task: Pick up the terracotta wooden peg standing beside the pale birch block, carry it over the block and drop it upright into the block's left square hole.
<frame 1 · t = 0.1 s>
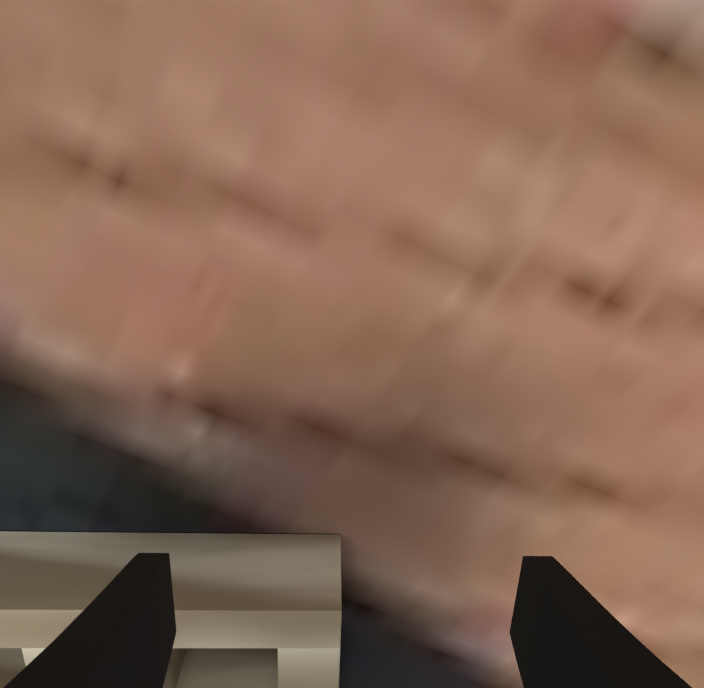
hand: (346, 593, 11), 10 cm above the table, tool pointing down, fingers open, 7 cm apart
hole block: (132, 607, 24), on the table
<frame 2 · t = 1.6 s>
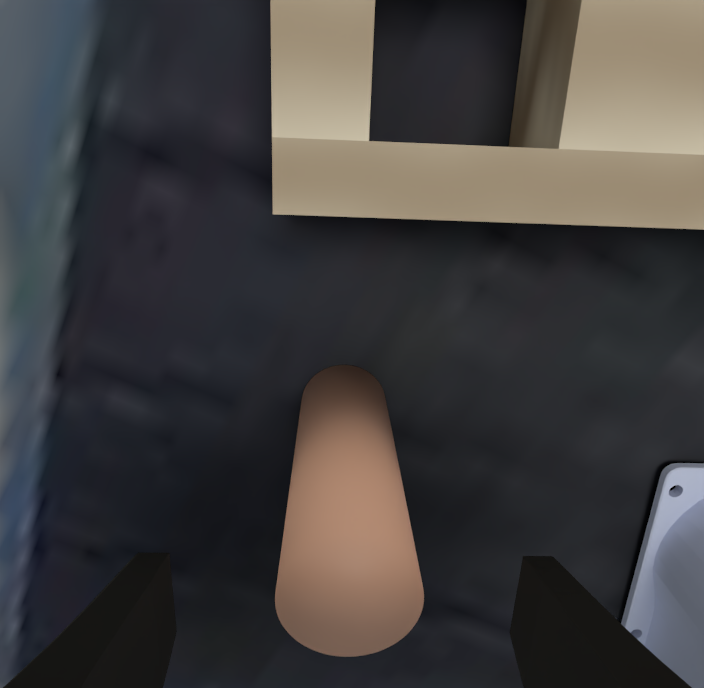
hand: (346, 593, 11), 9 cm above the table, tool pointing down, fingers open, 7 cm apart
hole block: (594, 70, 16), on the table
peg: (343, 403, 19), on the table
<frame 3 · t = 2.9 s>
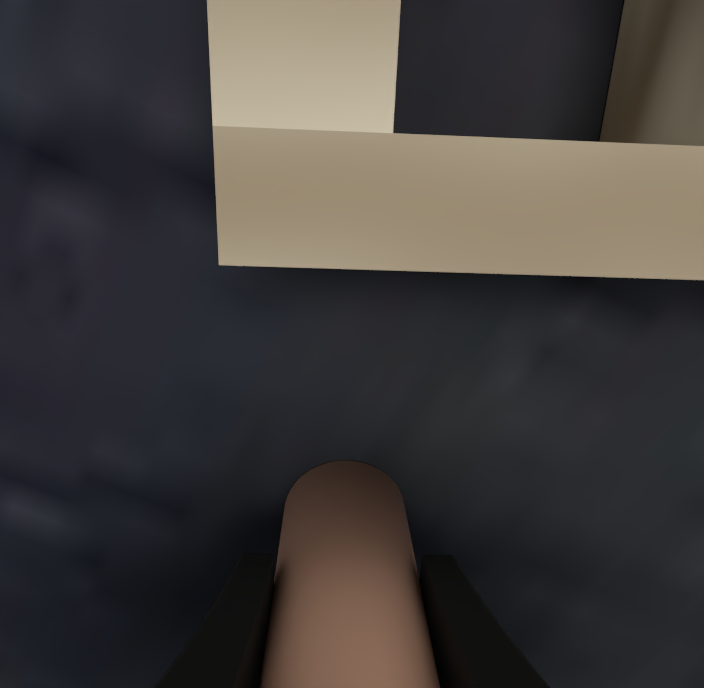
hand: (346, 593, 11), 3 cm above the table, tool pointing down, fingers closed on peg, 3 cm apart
peg: (344, 512, 14), on the table, touching gripper
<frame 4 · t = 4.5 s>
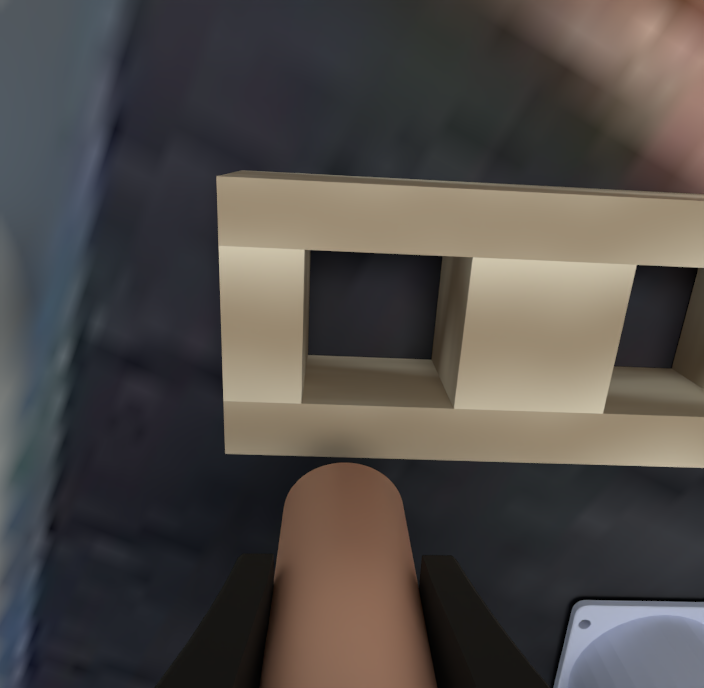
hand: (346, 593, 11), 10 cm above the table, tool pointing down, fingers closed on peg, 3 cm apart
hole block: (501, 302, 19), on the table
peg: (343, 514, 14), point 7 cm above the table, touching gripper
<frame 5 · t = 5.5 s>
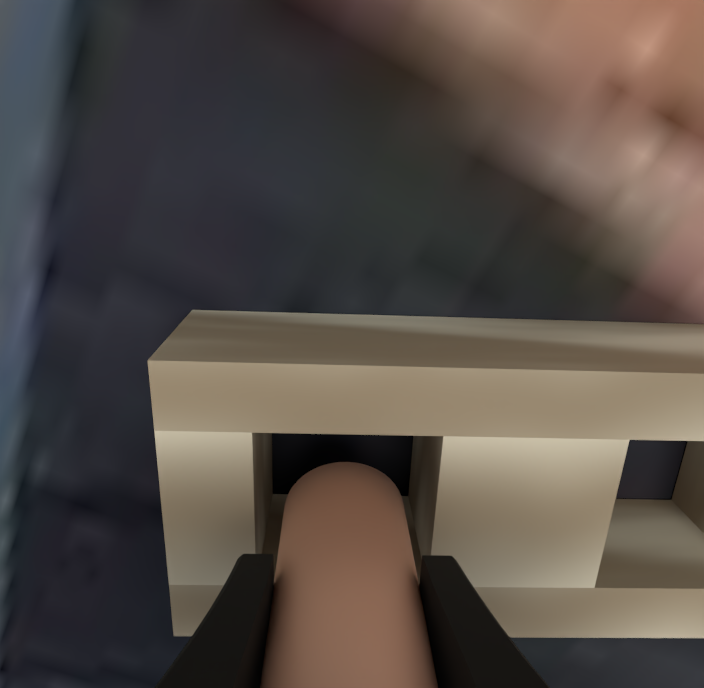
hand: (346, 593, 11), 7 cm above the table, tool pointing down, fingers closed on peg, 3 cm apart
hole block: (483, 437, 18), on the table
peg: (344, 513, 14), point 4 cm above the table, touching gripper
when the fingers open (5 cm above the table, at t = 6.2 s): peg drops 2 cm, resting in hole block.
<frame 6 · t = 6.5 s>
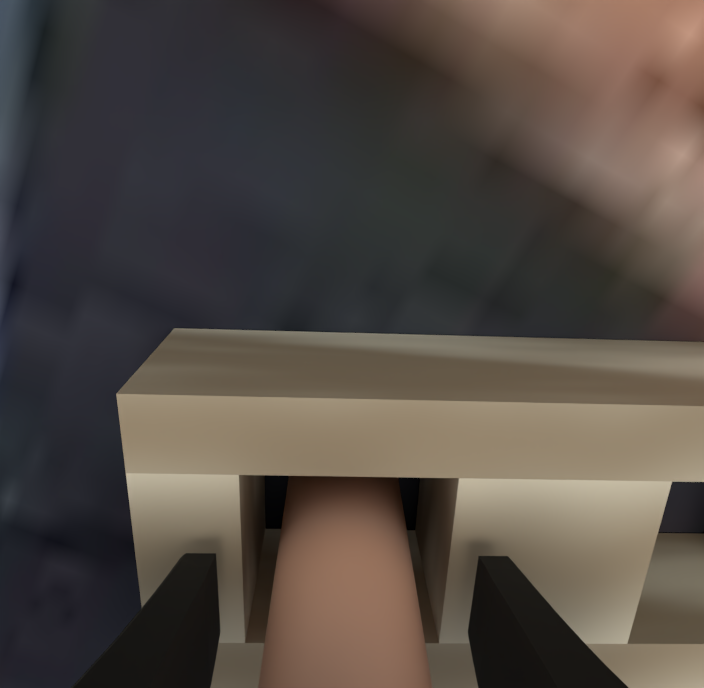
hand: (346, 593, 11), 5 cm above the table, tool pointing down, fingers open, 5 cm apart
hole block: (498, 467, 16), on the table
peg: (343, 466, 16), resting in hole block
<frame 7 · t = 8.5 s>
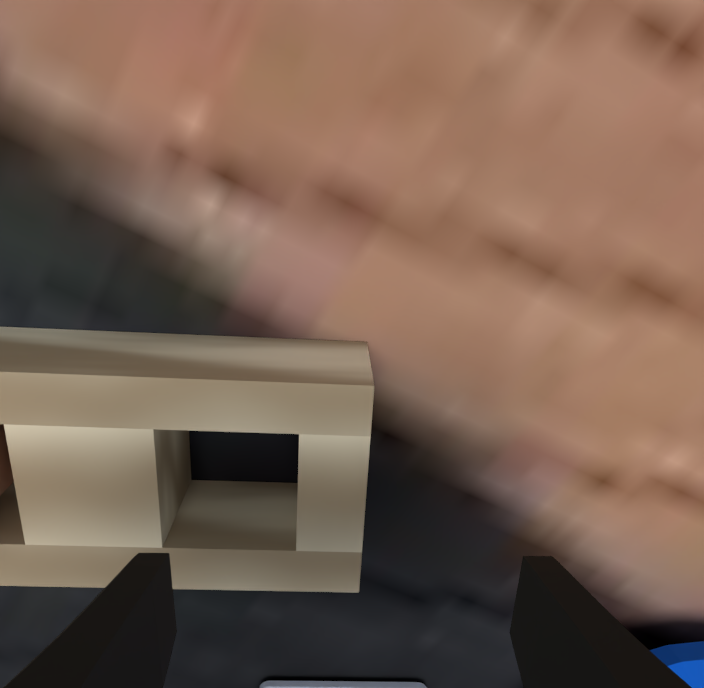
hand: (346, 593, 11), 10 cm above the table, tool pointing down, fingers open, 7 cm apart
hole block: (130, 428, 21), on the table
peg: (12, 425, 21), resting in hole block
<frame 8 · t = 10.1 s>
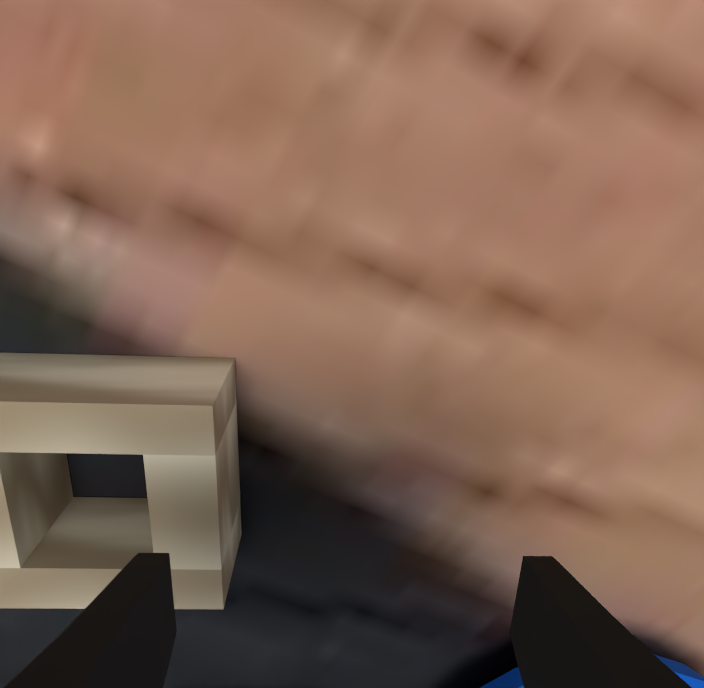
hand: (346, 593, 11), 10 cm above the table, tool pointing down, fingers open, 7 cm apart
hole block: (7, 447, 21), on the table
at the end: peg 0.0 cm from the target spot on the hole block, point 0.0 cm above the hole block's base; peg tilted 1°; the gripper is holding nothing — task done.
